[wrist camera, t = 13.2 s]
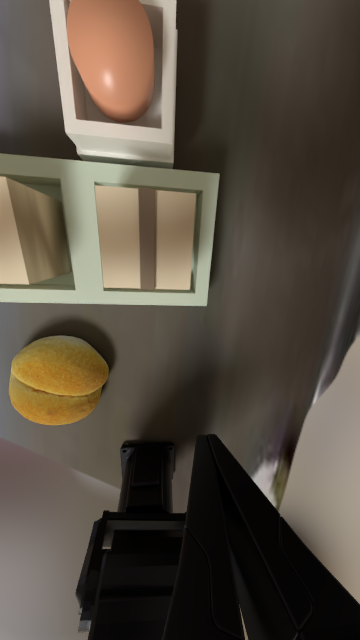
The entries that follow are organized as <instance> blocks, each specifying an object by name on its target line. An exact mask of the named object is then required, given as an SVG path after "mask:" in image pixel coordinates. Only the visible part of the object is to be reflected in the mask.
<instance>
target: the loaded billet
mask: <svg viewBox="0 0 360 640" xmlns="http://www.w3.org/2000/svg"><path fill="white" fill-rule="evenodd" d="M95 194H96V205H97V217H98V228H99V239H100V251H101V262H102V273H103V285H104V288H139V289H149V290H155V289H174V290H190V280H191V265H192V250H193V235H194V219H195V204H196V193H185V192H173V191H160V190H155V189H149V188H138V189H135V188H123V187H110V186H98V185H95Z"/></svg>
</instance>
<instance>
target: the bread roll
mask: <svg viewBox="0 0 360 640" xmlns="http://www.w3.org/2000/svg"><path fill="white" fill-rule="evenodd" d="M108 375H109V368H108V365H107V363H106V361H105V360H104V359H103V358H102V357H101V355H100V354H99V353H98V352H97V351H96V350H95V349H94V348H93V347H92V346H91V345H89V344H88V343H87V342H86V341H84V340H82V339H80V338H76V337H72V336H65V335H59V336H50V337H45V338H41V339H38V340H36V341H34V342H32V343H31V344H29V345H28V346H26V347H24V348H23V349H22V350H21V351H20V352H19V353H18V354H17V355H16V356H15V358H14V359H13V361H12V367H11V377H10V383H9V394H10V398H11V403H12V405H13V406H14V408H15V409H16V410H17V411H18V412H19V413H20V414H21V415H22V416H24V417H25V418H26V419H28V420H31V421H34V422H37V423H40V424H46V425H62V424H69V423H73V422H76V421H78V420H81V419H83V418H84V417H86V416H87V415H89V414H90V413H91V412H92V411H93V410H94V408H95V407H96V405H97V404H98V402H99V399H100V396H101V389H102V385H103V384H104V383H105V382H106V381H107V379H108Z"/></svg>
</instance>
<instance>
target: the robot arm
mask: <svg viewBox="0 0 360 640" xmlns="http://www.w3.org/2000/svg"><path fill="white" fill-rule="evenodd" d="M174 451H175V446H174V443H154V444H135V445H123V446H122V447H121V450H120V455H121V467H122V486H121V492H120V499H119V504H118V511H117V512H109V511H105V510H104V512H103V516H102V518H100V519H99V520H97V521H95V522H94V525H93V529H92V533H91V537H90V541H89V546H88V549H87V553H86V556H85V560H84V564H83V567H82V571H81V574H80V578H79V581H78V585H77V589H76V598H77V600H78V603H79V605H80V609H79V615H81V618H80V623H79V629H78V633H83V632H89V636H88V640H245V636H244V630H243V625H242V619H241V612H242V617H243V620H244V624H245V628H246V632H247V636H248V640H360V604H359V603H358V602H357V601H356V600H355V599H354V597H353V596H351V594H350V593H349V592H348V591H347V590H346V589H345V588H344V587H343V586H342V585H341V583H340V582H339V581H338V580H337V579H336V578H335V577H334V576H333V575H332V574H331V573H330V572H329V571H328V569H327V568H326V567H325V566H324V565H323V564H322V563H321V562H320V561H319V560H318V558H317V557H316V556H315V555H314V554H313V553H312V552H311V551H310V550H309V548H308V547H307V546H306V545H305V544H304V543H303V541H302V540H301V539H300V538H299V537H298V535H296V533H295V532H294V531H293V530H292V528H291V527H290V526H289V525H288V523H287V522H286V521H285V520H284V518H283V517H280V513H279V512H278V511H277V510H276V509H275V507H274V506H273V505H272V504H271V502H270V501H269V500H268V499H267V497H266V496H265V495H264V494H263V492H262V491H261V490H260V489H259V487H258V486H257V485H256V484H255V482H254V481H253V480H252V479H251V478H250V476H249V475H248V474H247V473H246V471H245V470H244V469H243V468H242V466H241V465H240V464H239V463H238V461H237V460H236V459H235V458H234V456H233V455H232V454H231V453H230V451H229V450H228V449H227V448H226V447H225V445H224V444H223V443H222V442H221V440H220V439H219V438H218V437H217V435H215V434H207V435H197V438H196V445H195V453H194V460H193V468H192V475H191V483H190V490H189V498H188V505H187V512H185V513H173V502H172V481H171V480H172V479H173V470H174ZM103 547H111V549H102V548H103ZM239 605H240V606H239ZM240 609H241V612H240Z"/></svg>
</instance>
